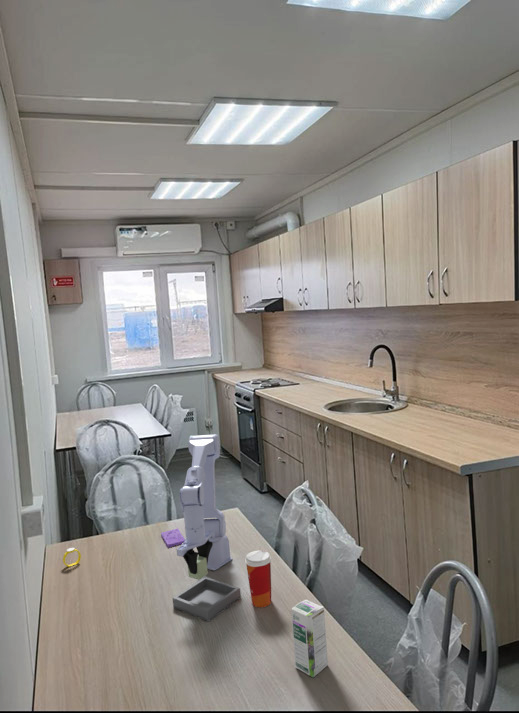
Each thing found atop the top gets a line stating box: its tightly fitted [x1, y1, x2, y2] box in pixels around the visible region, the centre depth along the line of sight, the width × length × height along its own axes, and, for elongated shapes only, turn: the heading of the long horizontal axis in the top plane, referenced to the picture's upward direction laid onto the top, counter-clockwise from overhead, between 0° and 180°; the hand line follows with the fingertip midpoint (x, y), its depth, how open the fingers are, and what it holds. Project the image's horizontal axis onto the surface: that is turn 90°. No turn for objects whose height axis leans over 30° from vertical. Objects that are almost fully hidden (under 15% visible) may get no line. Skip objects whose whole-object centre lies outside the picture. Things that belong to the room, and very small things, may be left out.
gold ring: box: [62, 547, 82, 568], centre depth 185 cm, size 6×3×6 cm, turn 131°
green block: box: [187, 555, 209, 581], centre depth 156 cm, size 4×4×5 cm
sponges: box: [160, 527, 185, 548], centre depth 201 cm, size 7×13×2 cm, turn 23°
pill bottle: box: [244, 550, 272, 609], centre depth 151 cm, size 8×8×14 cm
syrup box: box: [290, 599, 329, 678], centre depth 122 cm, size 6×6×14 cm
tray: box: [172, 576, 242, 622], centre depth 153 cm, size 14×14×3 cm
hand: (198, 569), depth 156 cm, fingers closed on green block, 4 cm apart
